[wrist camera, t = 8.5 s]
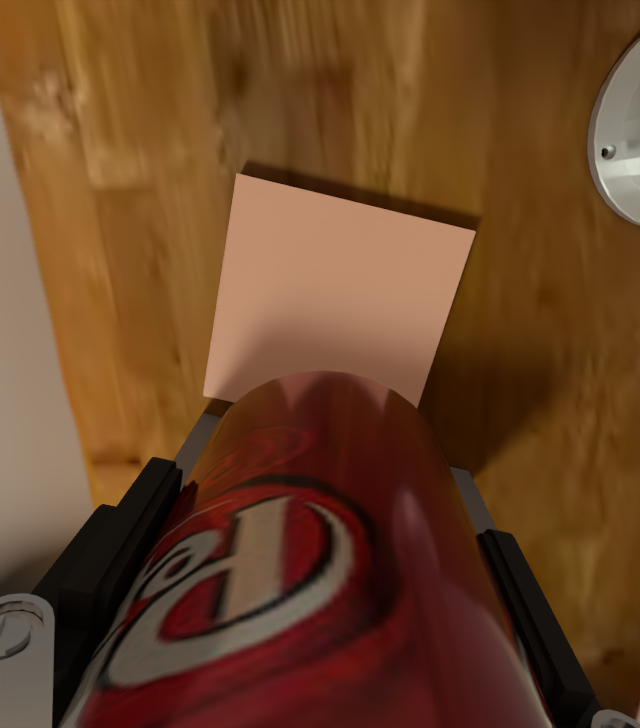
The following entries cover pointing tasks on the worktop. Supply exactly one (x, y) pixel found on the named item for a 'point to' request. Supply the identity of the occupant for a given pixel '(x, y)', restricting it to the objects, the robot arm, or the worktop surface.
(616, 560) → the worktop surface
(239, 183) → the tile
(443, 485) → the soda can
